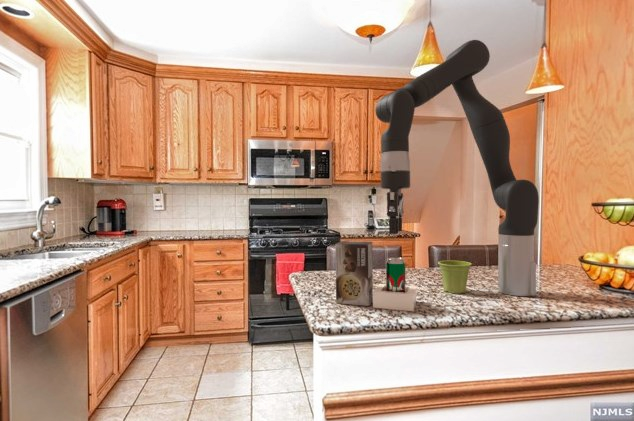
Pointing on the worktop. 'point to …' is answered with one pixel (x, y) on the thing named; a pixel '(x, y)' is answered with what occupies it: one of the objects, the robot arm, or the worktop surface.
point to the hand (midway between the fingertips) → (395, 232)
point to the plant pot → (454, 275)
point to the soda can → (395, 275)
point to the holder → (395, 298)
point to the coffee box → (354, 273)
